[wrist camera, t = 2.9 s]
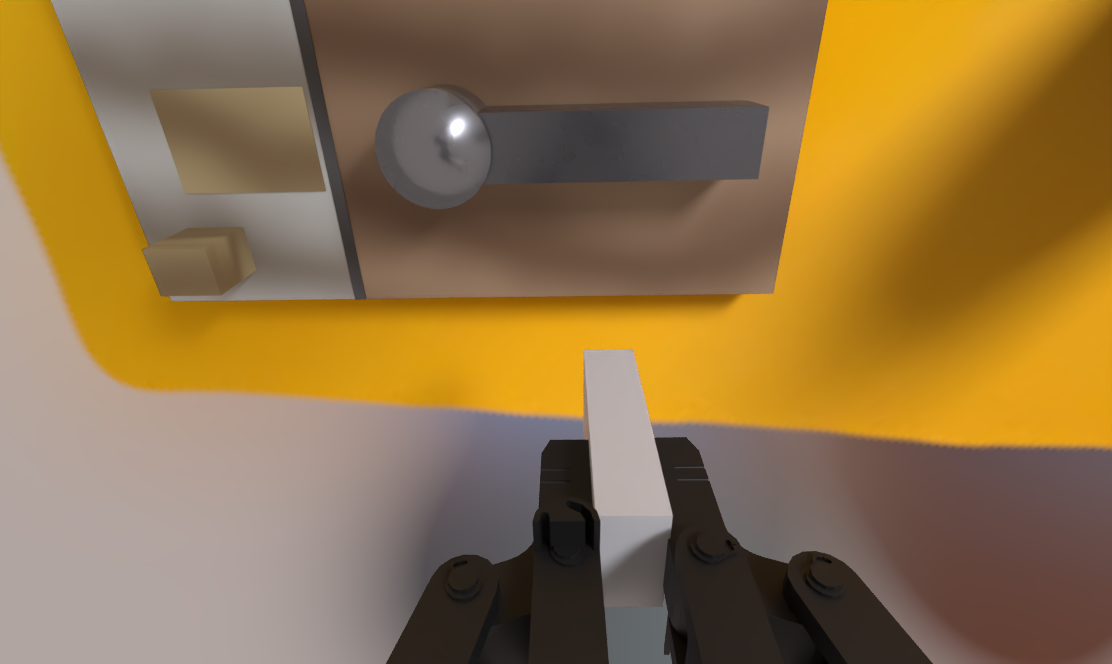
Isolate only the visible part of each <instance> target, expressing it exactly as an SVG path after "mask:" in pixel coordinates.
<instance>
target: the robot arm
mask: <svg viewBox="0 0 1112 664" xmlns="http://www.w3.org/2000/svg"><path fill="white" fill-rule="evenodd" d="M533 537H534V541H533V543H532V545H531V546H530V547H529V548H528V549H527V550H526V551H525V552H523V553H522V554H520V555H519V556H517V557H515V558H512V559H510V560H507V561H504V562H500V563H497V564H494V565H492V564H491V563H490V562H489V560H488V559H485V558H483V557H480V556H478V555H462V556H458V557H455V558H452V559H450V560H448V561H447V562H445V563H444V564H442V565H441V566H440V567H439V568H438V569H437V571H436V572H435V573H434V574H433V576H432V577H431V579H430V582H429V583H428V585H427V587H426V589H425V591H424V593H423V595H422V596H421V598H420V600H419V602H418V604H417V606H416V608H415V610H414V612H413V614H412V615H411V617H410V619H409V621H408V623H407V625H406V627H405V629H404V631H403V632H402V634H401V636H400V638H399V640H398V642H397V644H396V646H395V648H394V650H393V651H392V653H391V655H390V657H389V659H388V661H387V663H386V664H609V661H608V649H607V635H606V624H605V611H604V607H662V606H663V600H664V594H665V599H666V604H667V610H668V618H667V626H666V635H665V643H664V654H665V655H668V654H669V653H671V658H672V664H933V663H932V662H931V661H930V660H929V659H928V657H927V656H926V655H925V654H924V653H923V652H922V650H921V649H920V648H919V647H918V646H917V645H916V643H915V642H914V641H913V640H912V639H911V637H910V636H909V635H908V634H907V633H906V632H905V631H904V629H903V628H902V627H901V626H900V624H899V623H898V622H897V621H896V620H895V619H894V617H893V616H892V615H891V614H890V613H889V612H888V610H887V609H886V608H885V607H884V606H883V605H882V603H881V602H880V601H879V600H878V599H877V597H876V596H875V595H874V594H873V593H872V592H871V591H870V589H869V588H868V587H867V586H866V584H865V583H864V582H863V581H862V580H861V579H860V577H859V576H858V575H857V574H856V573H855V572H854V571H853V570H852V569H851V568H850V567H849V566H847V565H846V564H845V563H844V562H842V561H840V560H838V559H837V558H835V557H833V556H831V555H828V554H825V553H821V552H817V551H809V552H801V553H799V554H797V555H795V556H793V557H792V559H791V560H790V562H789V564H787V563H783V562H779V561H776V560H772V559H768V558H765V557H762V556H759V555H756V554H753V553H751V552H749V551H748V550H746V549H744V548H743V547H741V546H740V544H739V542H738V541H737V539H736V538H734V537H733V536H732V535H731V534H730V533H728V531H727V529H726V527H725V525H724V522H723V519H722V516H721V513H720V511H719V508H718V505H717V502H716V499H715V496H714V493H713V490H712V487H711V484H710V482H709V481H708V476H707V473H706V470H705V469H704V464H703V461H702V458H701V455H700V453H699V450H698V449H697V448H696V447H695V446H694V445H693V444H692V443H691V442H690V441H689V440H688V439H687V438H686V437H681V438H680V437H678V438H677V437H673V438H654V436H653V431H652V427H651V422H650V418H649V414H648V410H647V406H646V402H645V397H644V393H643V389H642V385H641V381H640V377H639V372H638V368H637V364H636V360H635V356H634V351H633V350H584V440H550V441H549V443H548V444H547V446H546V447H545V449H544V450H543V452H542V456H541V475H540V494H539V509H538V510H537V511H536V513H535V516H534V519H533Z"/></svg>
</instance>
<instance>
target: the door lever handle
mask: <svg viewBox="0 0 1112 664" xmlns="http://www.w3.org/2000/svg"><path fill="white" fill-rule="evenodd" d="M768 113H769V106H766V105H762V104H759V103H755V102H752V101H748V100H734V101H689V102H643V103H598V104H553V105H507V106H486V105H485V104H484V103H483V102H482V101H481V100H480V99H479V98H478V97H477V96H476V95H474V94H473V93H471V92H470V91H468V90H466V89H464V88H462V87H459V86H456V85H451V84H436V85H432V86H428V87H424V88H421V89H417V90H413V91H410V92H407V93H405V94H403V95H401V96H399V97H398V98H396V99H395V100H394V101H392V102H391V103H390V104H389V105H388V107H387V108H386V109H385V110H384V112H383V114H382V115H381V117H380V119H379V122H378V125H377V128H376V134H375V151H376V157H377V161H378V164H379V166H380V169H381V171H382V173H383V175H384V177H385V178H386V180H387V181H388V183H389V184H390V185H391V186H392V187H393V188H394V189H395V190H396V191H397V192H398V193H399V194H400V195H401V196H403V197H404V198H405V199H407V200H409V201H410V202H412V203H414V204H417V205H419V206H422V207H426V208H431V209H447V208H452V207H455V206H458V205H460V204H462V203H464V202H466V201H467V200H469V199H470V198H472V197H473V196H474V195H475V194H476V193H477V192H478V190H479V189H480V188H481V186H482V185H483V184H525V183H579V182H634V181H688V180H743V179H758V178H759V171H760V165H761V158H762V152H763V145H764V139H765V133H766V126H767V120H768Z"/></svg>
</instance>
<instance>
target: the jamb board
mask: <svg viewBox="0 0 1112 664" xmlns="http://www.w3.org/2000/svg"><path fill="white" fill-rule="evenodd" d="M51 2H52V5H53V7H54V10H55V12H56V15H57V17H58V20H59V22H60V25H61V27H62V30H63V32H64V35H65V37H66V40H67V42H68V45H69V47H70V50H71V52H72V55H73V57H74V60H75V62H76V65H77V67H78V70H79V72H80V75H81V77H82V80H83V82H84V85H85V87H86V90H87V92H88V95H89V97H90V100H91V102H92V105H93V107H94V110H95V112H96V114H97V117H98V119H99V122H100V124H101V127H102V129H103V132H104V134H105V137H106V139H107V142H108V144H109V147H110V149H111V152H112V154H113V157H114V159H115V162H116V164H117V167H118V169H119V172H120V174H121V177H122V179H123V182H124V184H125V187H126V189H127V192H128V194H129V197H130V199H131V202H132V204H133V207H134V209H135V212H136V214H137V217H138V219H139V222H140V224H141V227H142V229H143V232H144V234H145V237H146V239H147V242H148V244H149V246H148V247H146V248H144V249H142V251H143V253H144V256H145V258H146V261H147V263H148V265H149V268H150V270H151V273H152V275H153V278H154V280H155V283H156V285H157V287H158V290H159V292H160V295H161V296H170V299H171V301H235V300H313V299H390V298H467V297H545V296H622V295H700V294H773V291H774V286H775V281H776V275H777V270H778V265H779V259H780V254H781V249H782V243H783V238H784V233H785V227H786V222H787V217H788V211H789V206H790V201H791V195H792V190H793V185H794V179H795V174H796V169H797V163H798V158H799V153H800V147H801V142H802V137H803V131H804V126H805V121H806V115H807V110H808V105H809V99H810V94H811V89H812V83H813V78H814V73H815V67H816V62H817V57H818V51H819V46H820V41H821V35H822V30H823V25H824V19H825V14H826V9H827V3H828V0H51ZM436 84H451V85H456V86H459V87H462V88H464V89H466V90H468V91H470V92H471V93H473V94H474V95H476V96H477V97H478V98H479V99H480V100H481V101H482V102H483V103H484V104H485V105H486V106H507V105H553V104H598V103H643V102H689V101H734V100H748V101H752V102H755V103H759V104H762V105H766V106H769V113H768V120H767V126H766V133H765V139H764V145H763V152H762V158H761V165H760V171H759V178H758V179H743V180H688V181H634V182H579V183H525V184H483V185H482V186H481V188H480V189H479V190H478V192H477V193H476V194H475V195H474V196H473V197H472V198H470V199H469V200H467V201H466V202H464V203H462V204H460V205H458V206H455V207H452V208H447V209H431V208H426V207H422V206H419V205H417V204H414V203H412V202H410V201H409V200H407V199H405V198H404V197H403V196H401V195H400V194H399V193H398V192H397V191H396V190H395V189H394V188H393V187H392V186H391V185H390V184H389V183H388V181H387V180H386V178H385V177H384V175H383V173H382V171H381V169H380V166H379V164H378V161H377V157H376V151H375V134H376V128H377V125H378V122H379V119H380V117H381V115H382V114H383V112H384V110H385V109H386V108H387V107H388V105H389V104H390V103H391V102H392V101H394V100H395V99H396V98H398V97H399V96H401V95H403V94H405V93H407V92H410V91H413V90H417V89H421V88H424V87H428V86H432V85H436Z"/></svg>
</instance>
